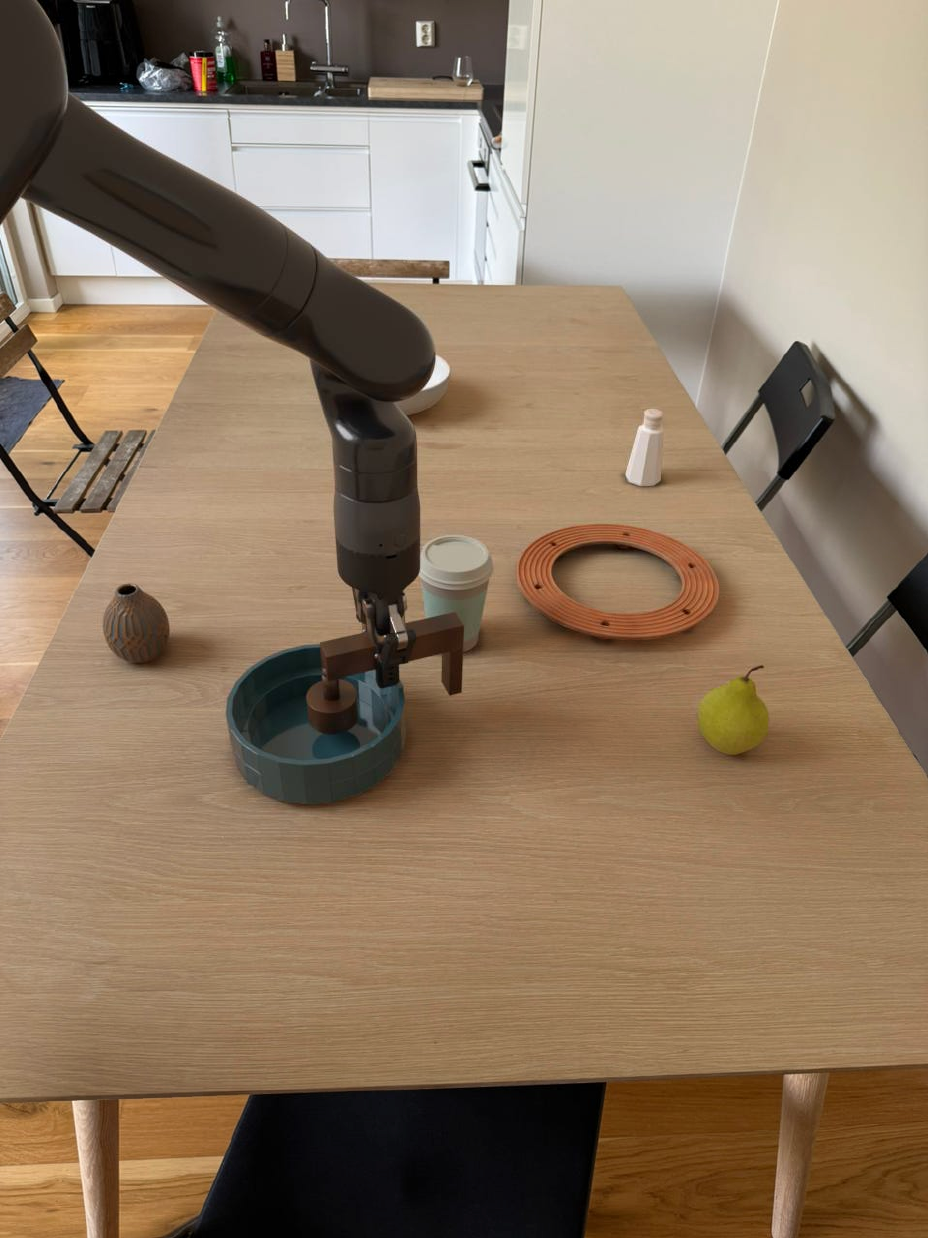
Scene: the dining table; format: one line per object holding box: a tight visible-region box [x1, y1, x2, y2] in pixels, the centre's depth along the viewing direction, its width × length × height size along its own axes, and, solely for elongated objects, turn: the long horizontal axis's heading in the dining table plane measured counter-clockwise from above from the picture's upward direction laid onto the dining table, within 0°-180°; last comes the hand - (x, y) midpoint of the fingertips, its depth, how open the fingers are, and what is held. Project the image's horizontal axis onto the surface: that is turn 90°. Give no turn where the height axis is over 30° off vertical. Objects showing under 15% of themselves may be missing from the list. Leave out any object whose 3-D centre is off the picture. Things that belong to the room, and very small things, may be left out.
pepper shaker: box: [625, 408, 665, 488], centre depth 133 cm, size 5×5×11 cm
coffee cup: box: [418, 534, 495, 653], centre depth 101 cm, size 8×8×12 cm
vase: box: [102, 583, 171, 664], centre depth 98 cm, size 7×7×9 cm
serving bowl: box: [395, 354, 452, 416], centre depth 153 cm, size 21×21×7 cm
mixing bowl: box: [225, 643, 407, 805], centre depth 89 cm, size 17×17×6 cm
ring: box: [515, 523, 720, 641], centre depth 113 cm, size 25×25×2 cm
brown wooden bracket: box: [306, 612, 464, 735], centre depth 89 cm, size 16×5×9 cm, turn 112°
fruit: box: [697, 665, 770, 756], centre depth 88 cm, size 7×7×12 cm
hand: (383, 674), depth 89 cm, fingers closed on brown wooden bracket, 2 cm apart
